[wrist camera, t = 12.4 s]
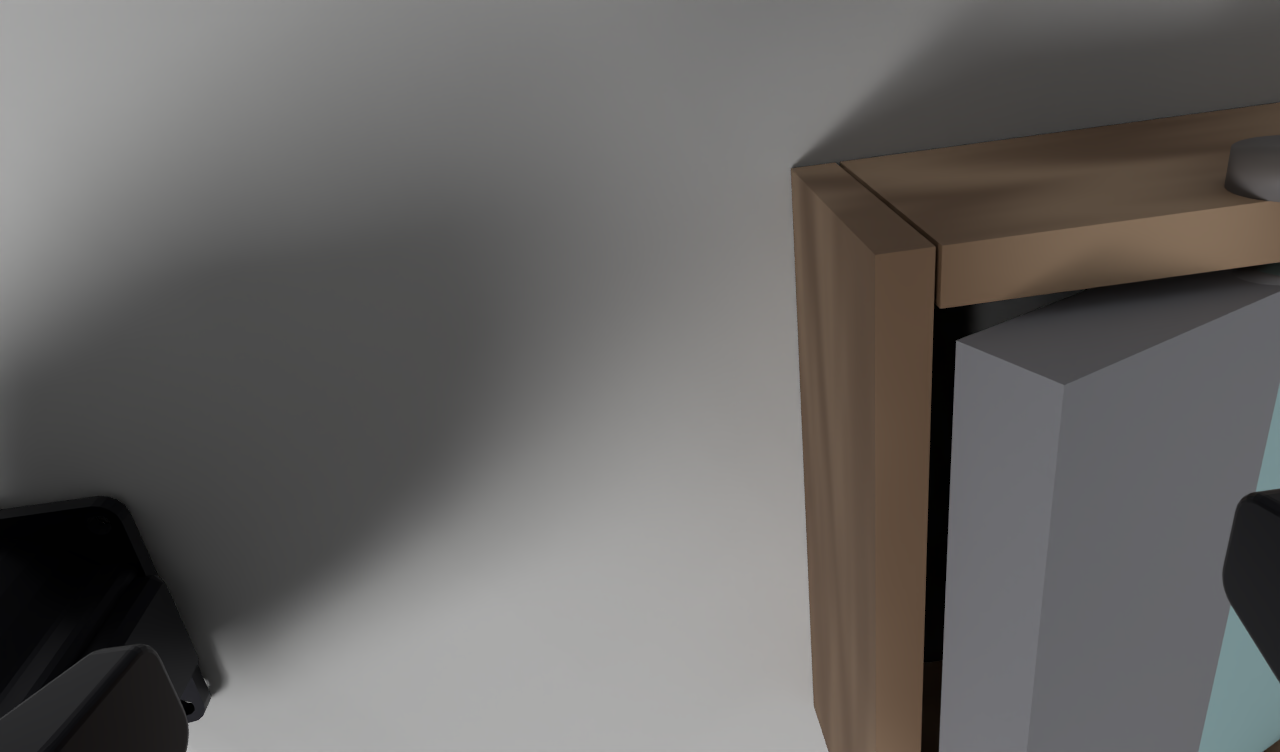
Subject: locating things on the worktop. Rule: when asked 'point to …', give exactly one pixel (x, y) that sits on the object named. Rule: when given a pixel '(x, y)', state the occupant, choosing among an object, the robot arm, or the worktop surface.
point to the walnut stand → (903, 344)
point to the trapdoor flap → (1111, 520)
